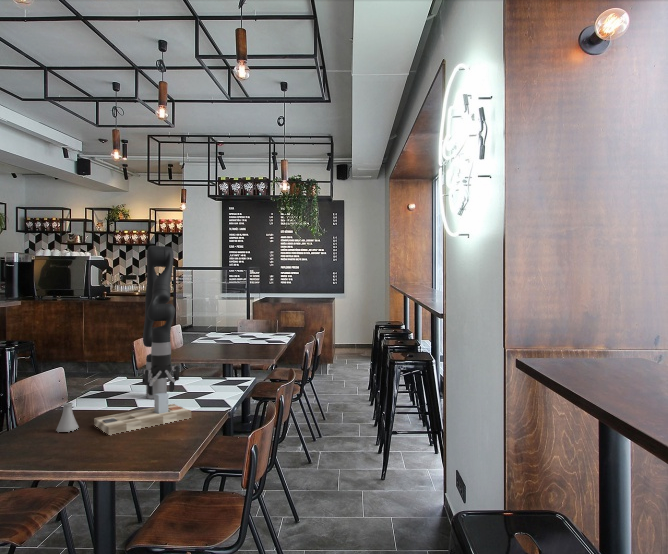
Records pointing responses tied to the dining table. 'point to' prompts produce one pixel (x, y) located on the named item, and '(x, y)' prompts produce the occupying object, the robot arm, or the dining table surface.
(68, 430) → the flask
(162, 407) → the plug
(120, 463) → the dining table surface
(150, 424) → the socket block
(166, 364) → the robot arm
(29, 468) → the dining table surface
